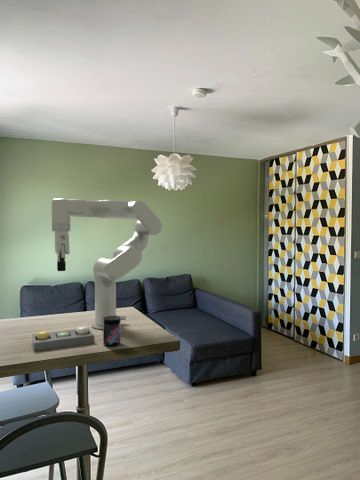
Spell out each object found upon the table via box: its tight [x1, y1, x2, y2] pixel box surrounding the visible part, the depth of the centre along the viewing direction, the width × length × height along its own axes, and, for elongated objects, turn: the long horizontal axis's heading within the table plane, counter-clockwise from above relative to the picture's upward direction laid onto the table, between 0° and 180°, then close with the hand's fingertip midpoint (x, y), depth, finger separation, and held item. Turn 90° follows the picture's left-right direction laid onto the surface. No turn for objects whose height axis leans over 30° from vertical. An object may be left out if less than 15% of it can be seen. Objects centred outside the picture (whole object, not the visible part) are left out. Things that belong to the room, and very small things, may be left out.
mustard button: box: [36, 330, 49, 340], centre depth 135 cm, size 4×4×2 cm
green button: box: [57, 332, 69, 338], centre depth 138 cm, size 4×4×2 cm
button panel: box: [31, 327, 95, 352], centre depth 138 cm, size 22×11×3 cm, turn 116°
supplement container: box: [102, 315, 122, 348], centre depth 136 cm, size 7×7×10 cm
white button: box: [76, 326, 89, 335], centre depth 141 cm, size 4×4×2 cm
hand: (61, 270), depth 148 cm, fingers closed
